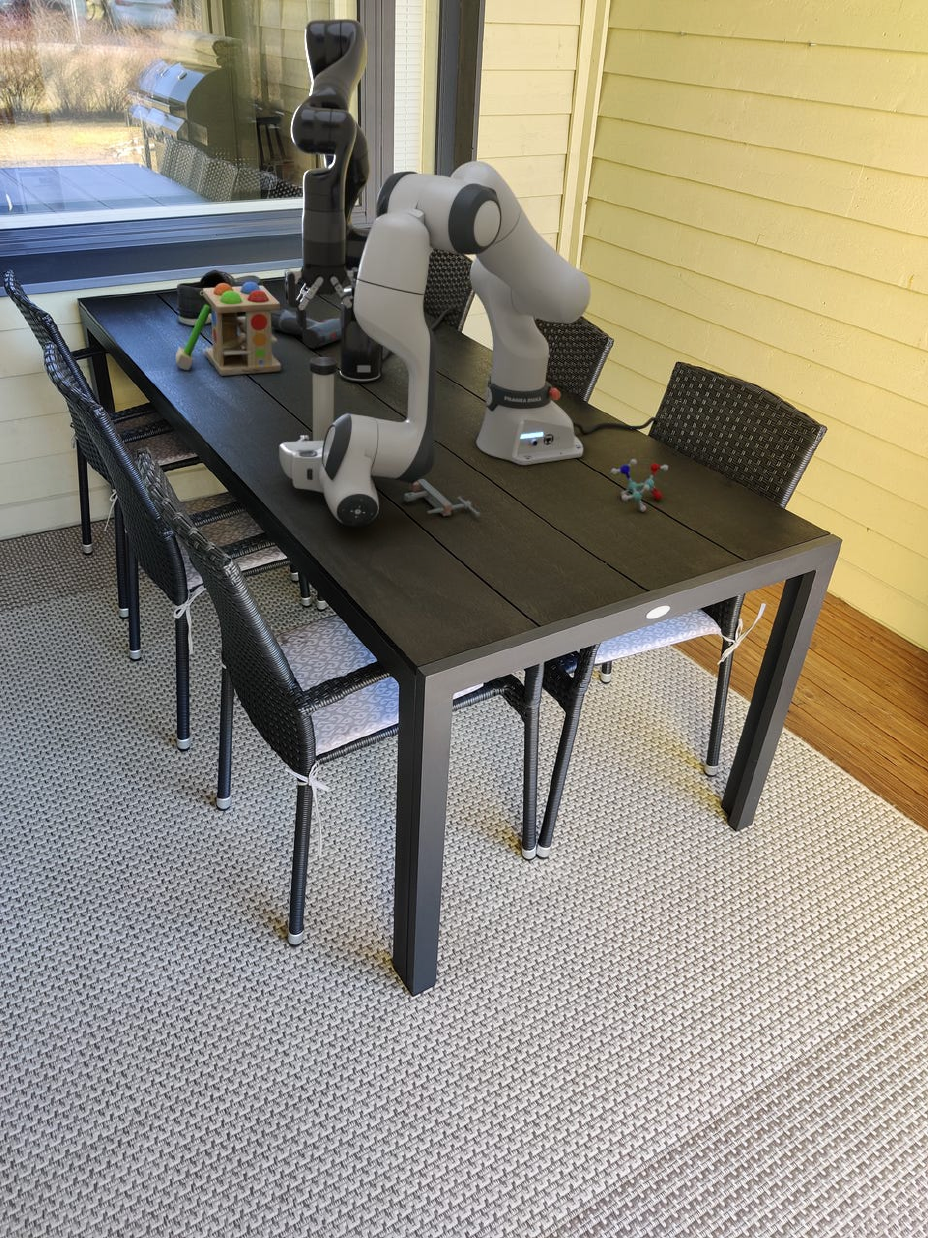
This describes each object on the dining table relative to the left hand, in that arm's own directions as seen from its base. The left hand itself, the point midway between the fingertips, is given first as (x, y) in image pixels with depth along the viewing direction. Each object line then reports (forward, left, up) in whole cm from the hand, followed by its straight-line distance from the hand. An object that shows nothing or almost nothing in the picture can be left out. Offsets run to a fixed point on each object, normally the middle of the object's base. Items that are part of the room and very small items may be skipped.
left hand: (323, 327), depth 181 cm
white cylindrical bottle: (0, 0, -25) cm, 25 cm away
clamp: (+3, +30, -25) cm, 39 cm away
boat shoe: (-51, -77, -25) cm, 96 cm away
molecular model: (-25, +57, -25) cm, 67 cm away
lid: (0, 0, -7) cm, 7 cm away
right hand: (+4, +4, -19) cm, 20 cm away
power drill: (-53, -48, -25) cm, 76 cm away
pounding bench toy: (-22, -48, -25) cm, 58 cm away
